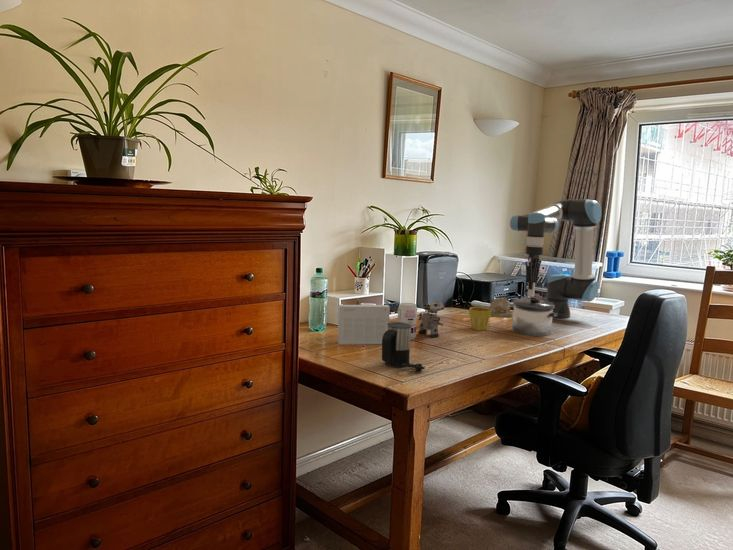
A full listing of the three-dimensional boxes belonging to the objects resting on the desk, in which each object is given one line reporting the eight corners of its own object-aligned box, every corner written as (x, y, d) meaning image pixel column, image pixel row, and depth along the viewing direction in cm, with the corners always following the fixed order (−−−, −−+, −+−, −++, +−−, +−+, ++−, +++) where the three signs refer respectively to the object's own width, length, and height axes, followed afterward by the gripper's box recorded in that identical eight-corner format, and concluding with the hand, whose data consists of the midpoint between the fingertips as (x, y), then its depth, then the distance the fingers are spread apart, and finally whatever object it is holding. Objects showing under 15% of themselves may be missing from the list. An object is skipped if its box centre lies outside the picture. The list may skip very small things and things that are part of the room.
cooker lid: (523, 300, 279) (523, 292, 278) (560, 306, 266) (561, 298, 266) (506, 305, 264) (506, 296, 264) (544, 311, 252) (545, 302, 251)
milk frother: (388, 359, 209) (390, 320, 207) (430, 364, 204) (432, 325, 202) (377, 369, 195) (379, 328, 193) (421, 375, 191) (424, 333, 189)
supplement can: (405, 334, 249) (407, 301, 247) (419, 338, 243) (421, 304, 241) (392, 337, 243) (394, 303, 241) (407, 341, 237) (408, 306, 235)
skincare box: (386, 341, 236) (388, 304, 234) (389, 344, 231) (390, 307, 229) (336, 341, 232) (338, 303, 230) (338, 344, 227) (340, 306, 225)
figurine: (447, 335, 251) (450, 303, 249) (428, 338, 244) (430, 304, 242) (434, 331, 258) (436, 299, 256) (415, 334, 251) (417, 301, 250)
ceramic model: (485, 315, 303) (486, 297, 302) (490, 312, 313) (491, 294, 312) (511, 318, 297) (512, 300, 296) (515, 315, 307) (516, 297, 306)
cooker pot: (519, 324, 282) (521, 301, 281) (562, 332, 268) (564, 307, 267) (501, 330, 267) (503, 305, 265) (546, 338, 253) (548, 313, 252)
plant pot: (490, 332, 262) (491, 311, 261) (467, 330, 264) (469, 309, 263) (489, 327, 272) (491, 307, 271) (468, 325, 274) (469, 306, 273)
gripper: (532, 244, 265) (529, 293, 269) (520, 246, 256) (517, 296, 259) (548, 246, 261) (544, 295, 264) (536, 247, 251) (532, 298, 254)
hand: (530, 296), depth 261 cm, fingers closed
